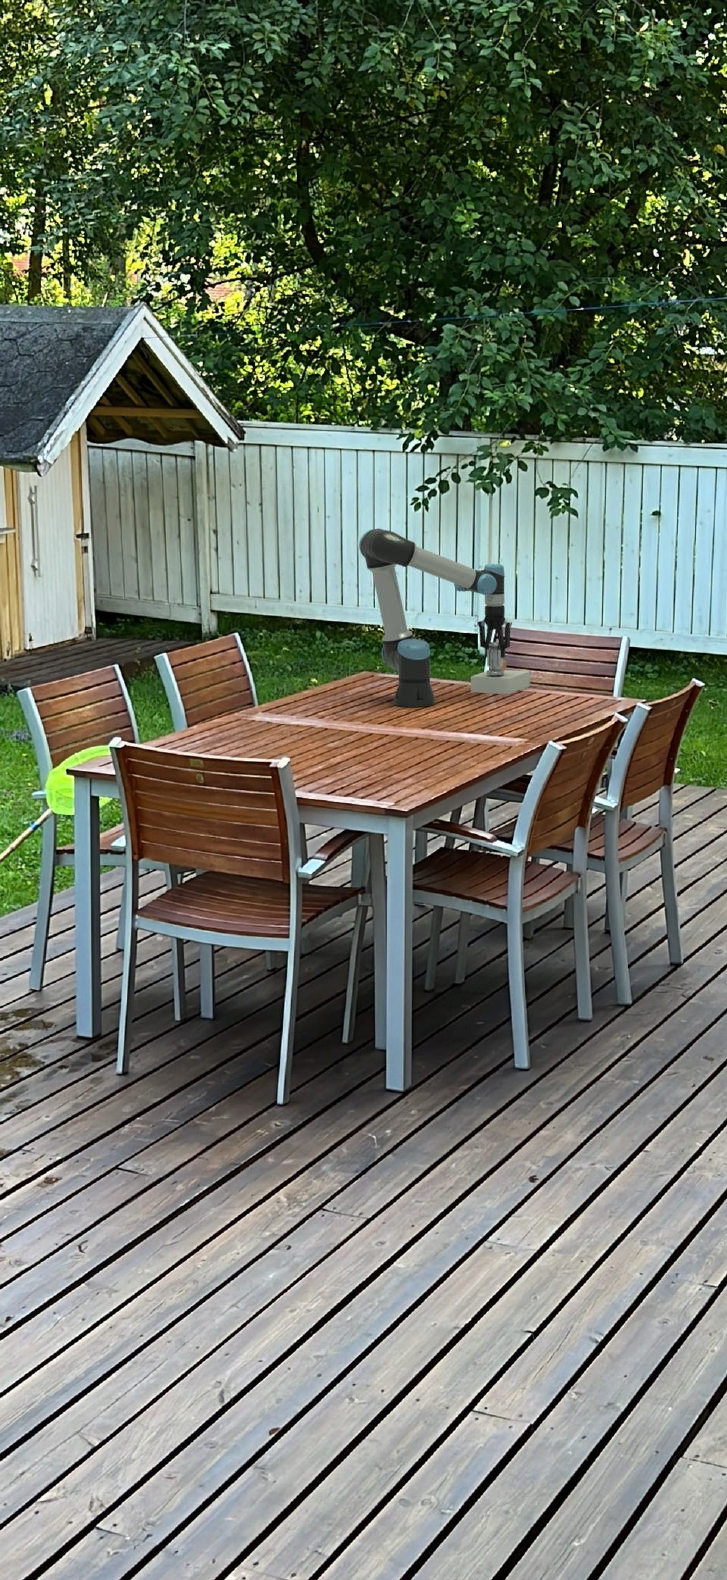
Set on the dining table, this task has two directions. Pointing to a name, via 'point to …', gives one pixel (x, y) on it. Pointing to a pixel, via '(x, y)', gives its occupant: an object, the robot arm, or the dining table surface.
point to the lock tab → (504, 665)
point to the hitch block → (500, 682)
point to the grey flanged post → (494, 660)
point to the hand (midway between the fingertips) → (495, 665)
